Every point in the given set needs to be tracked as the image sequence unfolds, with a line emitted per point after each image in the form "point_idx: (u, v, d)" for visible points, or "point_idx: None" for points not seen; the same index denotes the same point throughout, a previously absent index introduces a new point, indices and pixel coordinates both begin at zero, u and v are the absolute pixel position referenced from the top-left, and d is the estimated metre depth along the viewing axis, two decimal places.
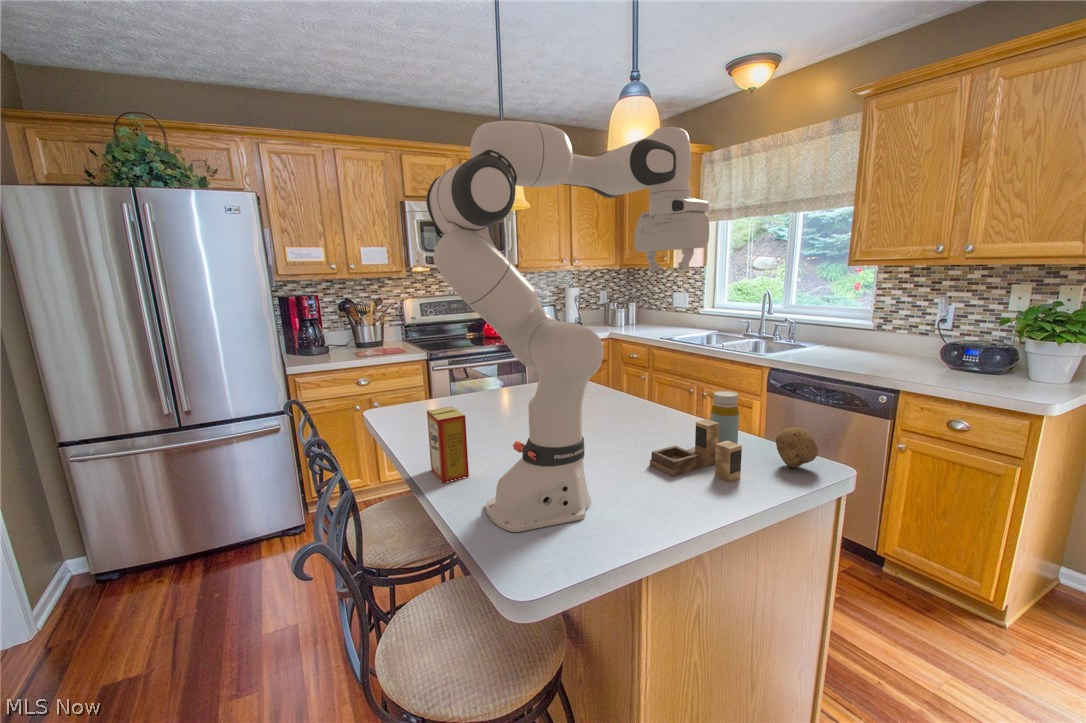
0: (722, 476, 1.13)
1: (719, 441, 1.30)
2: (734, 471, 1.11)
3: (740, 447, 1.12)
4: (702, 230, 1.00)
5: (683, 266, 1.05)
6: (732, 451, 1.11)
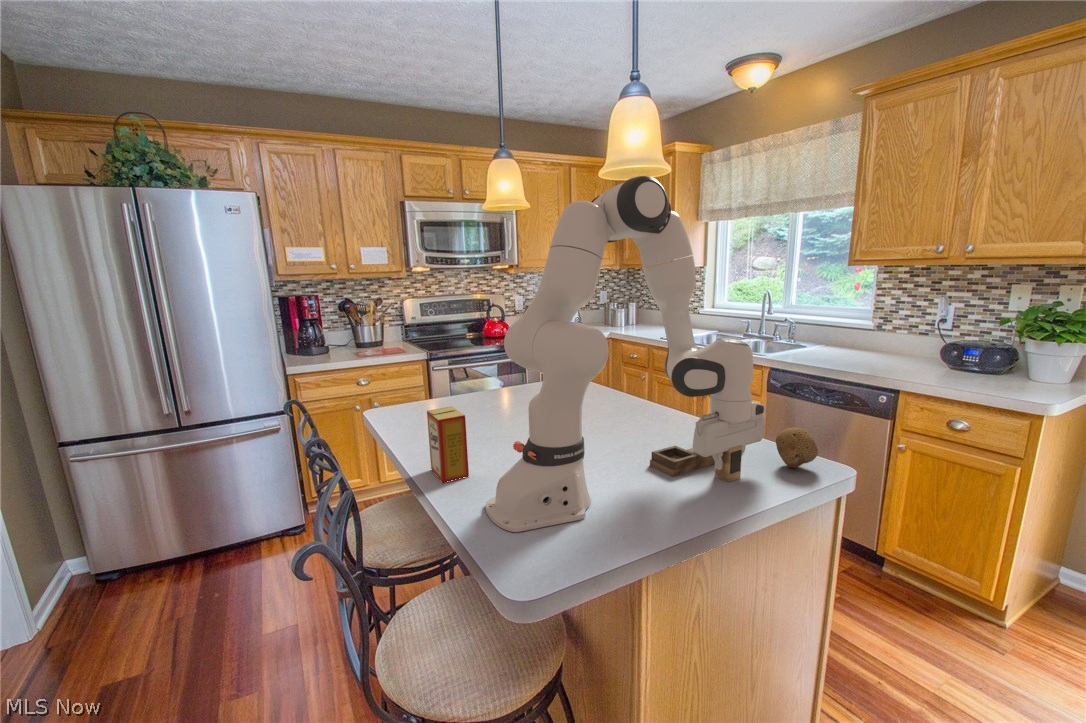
0: (722, 476, 1.13)
1: None
2: (734, 471, 1.11)
3: (740, 447, 1.12)
4: None
5: None
6: (732, 451, 1.10)
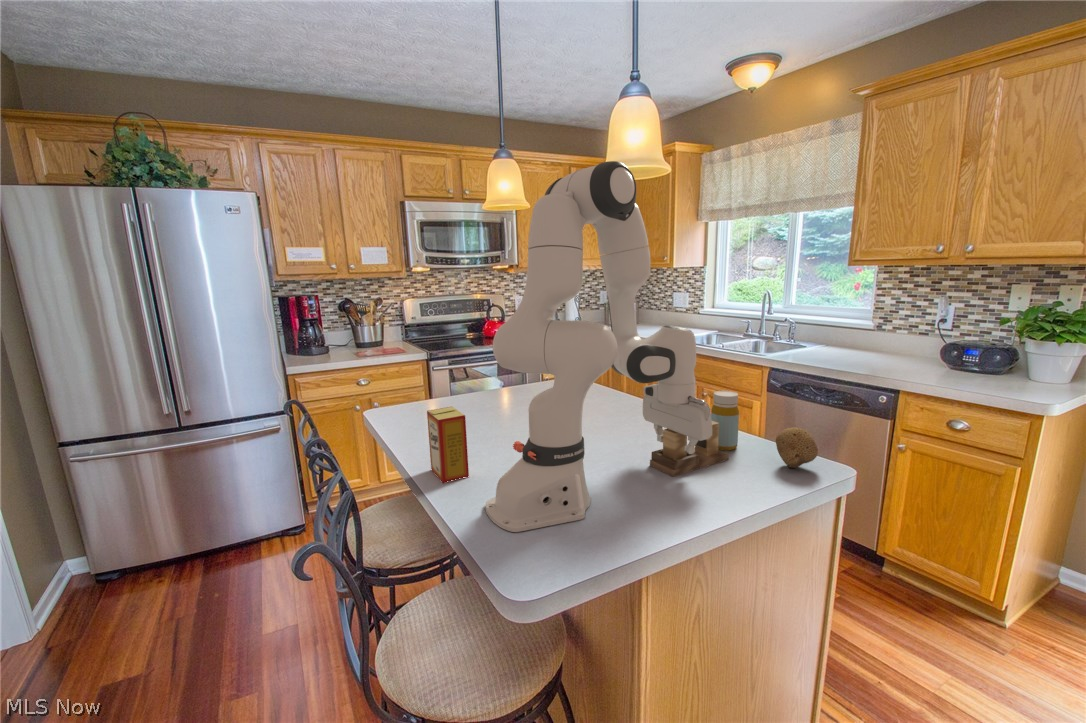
0: None
1: (719, 441, 1.30)
2: None
3: None
4: None
5: None
6: None
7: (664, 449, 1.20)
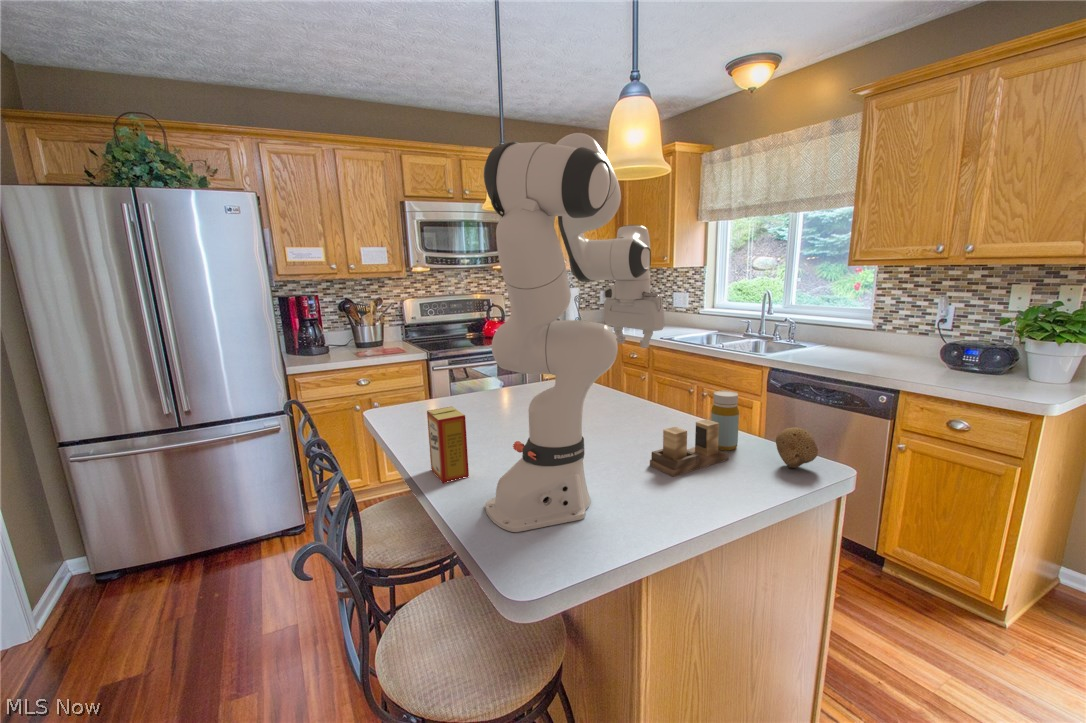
0: None
1: (719, 441, 1.30)
2: None
3: None
4: None
5: None
6: None
7: (664, 449, 1.20)
